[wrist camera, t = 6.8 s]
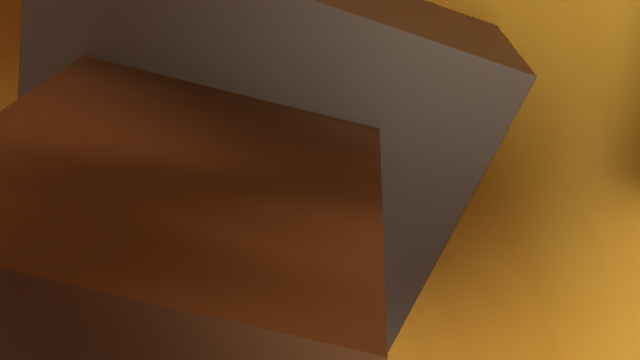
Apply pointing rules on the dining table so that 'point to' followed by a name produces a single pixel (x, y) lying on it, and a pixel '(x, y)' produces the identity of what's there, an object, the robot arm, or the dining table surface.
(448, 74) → the charcoal block
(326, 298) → the walnut cube
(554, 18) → the dining table surface
